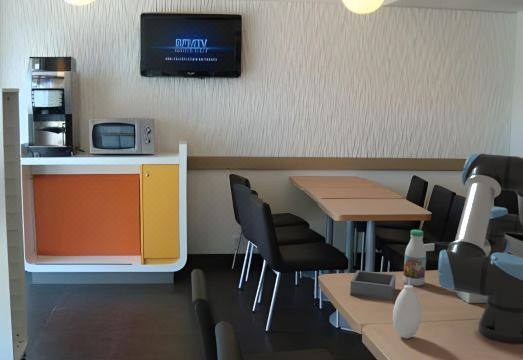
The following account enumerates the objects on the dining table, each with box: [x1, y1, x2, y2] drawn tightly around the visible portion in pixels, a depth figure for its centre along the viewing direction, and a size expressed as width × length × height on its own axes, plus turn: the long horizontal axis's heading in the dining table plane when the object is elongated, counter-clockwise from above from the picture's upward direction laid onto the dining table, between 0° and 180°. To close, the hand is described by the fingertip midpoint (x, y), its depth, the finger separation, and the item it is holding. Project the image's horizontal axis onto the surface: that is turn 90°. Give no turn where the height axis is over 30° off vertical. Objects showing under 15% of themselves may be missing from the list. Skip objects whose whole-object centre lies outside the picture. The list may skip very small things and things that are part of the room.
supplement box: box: [456, 256, 488, 304], centre depth 204 cm, size 9×9×15 cm
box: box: [349, 269, 397, 301], centre depth 209 cm, size 14×14×5 cm
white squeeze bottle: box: [392, 277, 422, 339], centre depth 169 cm, size 8×8×18 cm
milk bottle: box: [402, 229, 427, 287], centre depth 220 cm, size 8×8×20 cm
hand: (432, 252), depth 223 cm, fingers open, 13 cm apart
